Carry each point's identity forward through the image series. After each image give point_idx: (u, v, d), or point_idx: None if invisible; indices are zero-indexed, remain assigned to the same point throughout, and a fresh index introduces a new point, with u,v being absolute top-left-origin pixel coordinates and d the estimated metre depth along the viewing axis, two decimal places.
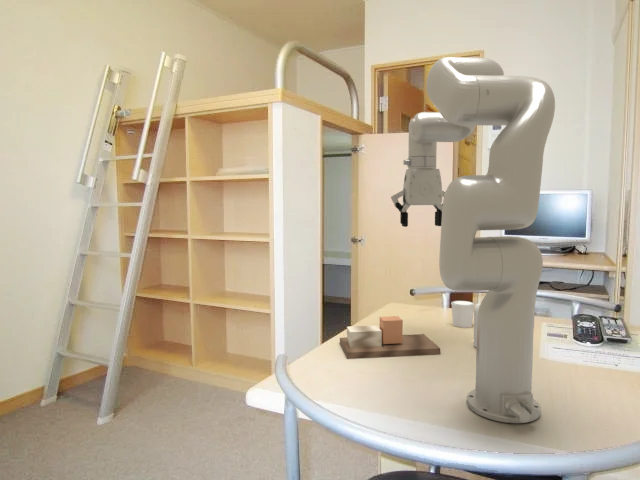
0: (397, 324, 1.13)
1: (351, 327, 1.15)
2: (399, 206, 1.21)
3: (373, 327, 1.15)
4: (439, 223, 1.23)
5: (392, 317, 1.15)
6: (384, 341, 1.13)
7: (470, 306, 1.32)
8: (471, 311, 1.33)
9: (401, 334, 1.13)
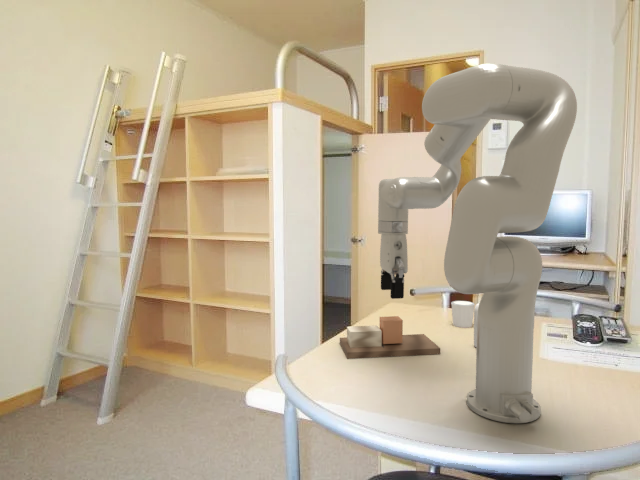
0: (397, 324, 1.13)
1: (351, 327, 1.15)
2: None
3: (373, 327, 1.15)
4: None
5: (392, 317, 1.15)
6: (384, 341, 1.13)
7: (470, 306, 1.32)
8: (471, 311, 1.33)
9: (401, 334, 1.13)
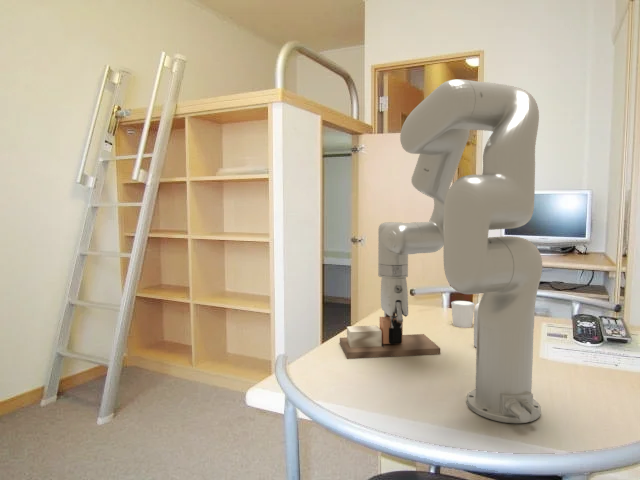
0: None
1: (351, 327, 1.15)
2: None
3: (373, 327, 1.15)
4: None
5: None
6: (384, 341, 1.13)
7: (470, 306, 1.32)
8: (471, 311, 1.33)
9: None
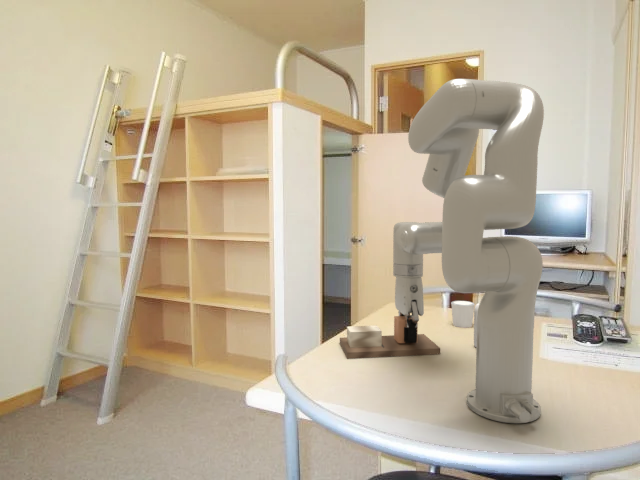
0: None
1: (351, 327, 1.15)
2: None
3: (373, 327, 1.15)
4: None
5: None
6: (399, 340, 1.13)
7: (470, 306, 1.32)
8: (471, 311, 1.33)
9: None
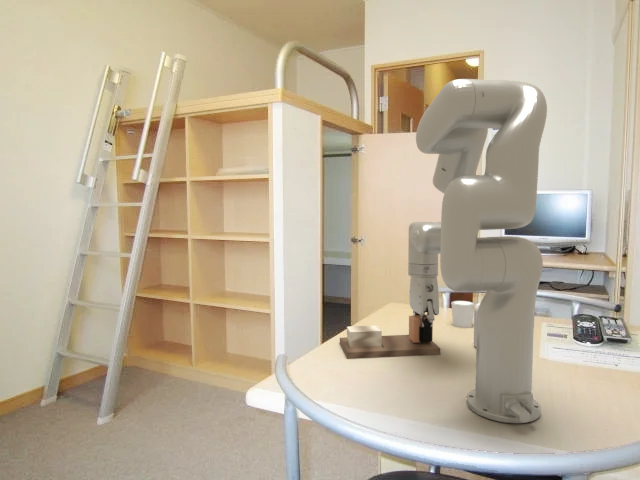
0: None
1: (351, 327, 1.15)
2: None
3: (373, 327, 1.15)
4: None
5: None
6: (414, 340, 1.13)
7: (470, 306, 1.32)
8: (471, 311, 1.33)
9: None
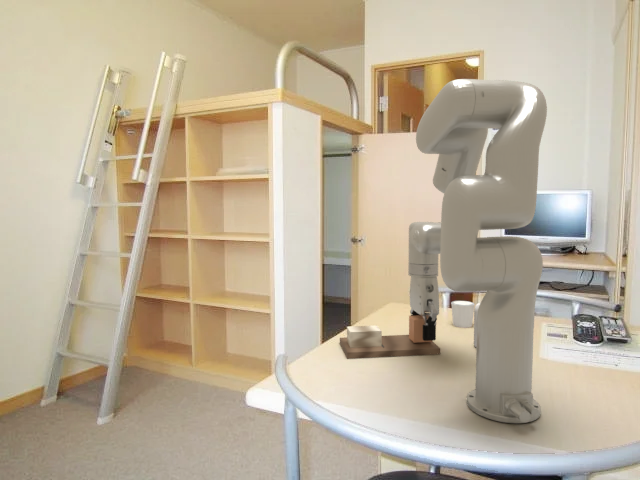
0: None
1: (351, 327, 1.15)
2: None
3: (373, 327, 1.15)
4: None
5: (422, 316, 1.16)
6: (414, 340, 1.13)
7: (470, 306, 1.32)
8: (471, 311, 1.33)
9: None
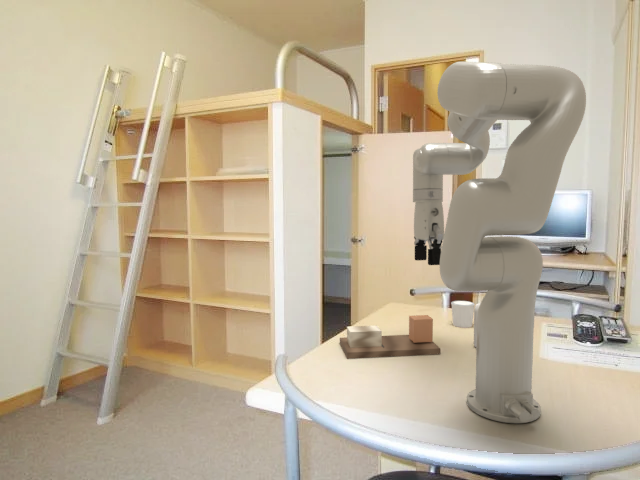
0: (427, 323, 1.13)
1: (351, 327, 1.15)
2: None
3: (373, 327, 1.15)
4: (425, 257, 1.20)
5: (422, 316, 1.16)
6: (414, 340, 1.13)
7: (470, 306, 1.32)
8: (471, 311, 1.33)
9: (431, 333, 1.14)
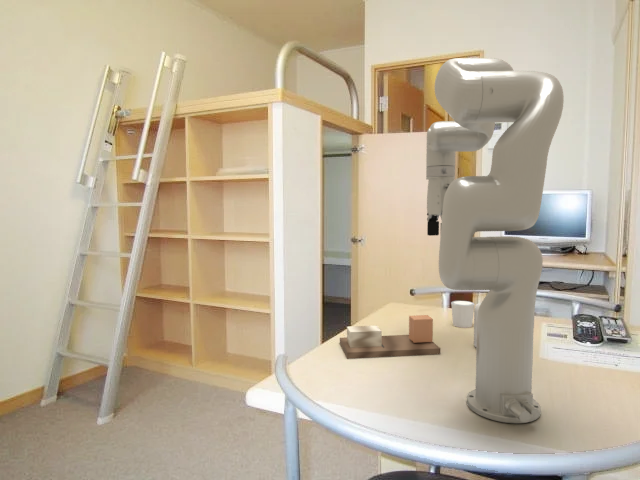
0: (427, 323, 1.13)
1: (351, 327, 1.15)
2: None
3: (373, 327, 1.15)
4: (438, 232, 1.26)
5: (422, 316, 1.16)
6: (414, 340, 1.13)
7: (470, 306, 1.32)
8: (471, 311, 1.33)
9: (431, 333, 1.14)
